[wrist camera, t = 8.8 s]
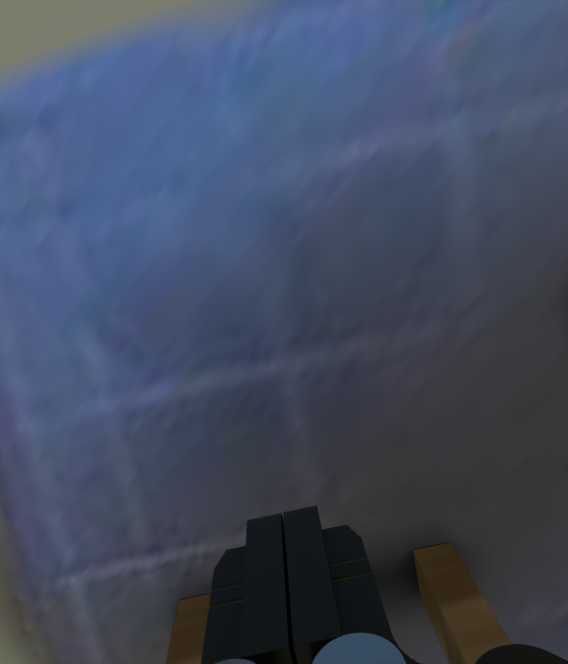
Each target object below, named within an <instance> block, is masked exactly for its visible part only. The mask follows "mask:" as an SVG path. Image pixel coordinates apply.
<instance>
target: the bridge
mask: <svg viewBox="0 0 568 664" xmlns="http://www.w3.org/2000/svg"><path fill="white" fill-rule="evenodd" d="M413 554H414V560H415V566H416V572H417V578H418V584H419V590H420V596H421V600H422V602H423V605H424V607H425V609H426V612H427V614H428V616H429V618H430V621H431V623H432V625H433V628H434V630H435V632H436V634H437V637H438V639H439V641H440V644H441V646H442V648H443V650H444V653H445V655H446V657H447V660H448V662H449V664H475V663H476V661H477V660H478V659H479V658H480V657H481V656H482V655H483V654H484V653H486V652H487V651H488V650H491V649H493V648H495V647H499V646H502V645H510V644H511V642H510V641H509V639H508V637H507V636H506V634H505V632H504V631H503V629H502V627H501V626H500V624H499V622H498V621H497V619H496V617H495V616H494V614H493V612H492V611H491V609H490V607H489V606H488V604H487V603H486V601H485V599H484V598H483V596H482V594H481V593H480V591H479V589H478V588H477V586H476V584H475V583H474V581H473V579H472V578H471V576H470V574H469V573H468V571H467V569H466V568H465V566H464V565H463V563H462V561H461V560H460V558H459V556H458V555H457V553H456V551H455V550H454V548H453V546H452V545H451V543H445V544H441V545H436V546H431V547H427V548H422V549H417V550H413ZM210 595H211V594H207V595H202V596H197V597H193V598H188V599H183V600H179V602H178V607H177V612H176V616H175V621H174V626H173V631H172V636H171V641H170V646H169V650H168V655H167V660H166V664H201V658H202V651H203V644H204V637H205V630H206V623H207V616H208V609H210V607H209V602H210Z"/></svg>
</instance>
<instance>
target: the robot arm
mask: <svg viewBox="0 0 568 664" xmlns="http://www.w3.org/2000/svg"><path fill="white" fill-rule="evenodd" d="M209 607H210V609H208V616H207V623H206V630H205V637H204V644H203V651H202V658H201V664H420V663H418V662H416V661H415V660H413V659H411V658H410V657H409V656H408V655H406V654H405V653H404V652H403V651H402V650H401V649H400V648H399V646H398V645H397V643H396V642H395V640H394V638H393V635H392V633H391V630H390V626H389V623H388V620H387V617H386V614H385V611H384V608H383V605H382V601H381V598H380V595H379V592H378V589H377V586H376V583H375V579H374V576H373V574H372V570H371V567H370V564H369V561H368V558H367V554H366V551H365V548H364V545H363V542H362V539H361V537H360V536H359V535H358V534H356V533H355V532H354V531H353V530H352V529H351V528H350V527H348V526H347V525H343V526H338V527H333V528H329V529H324V530H322V528H321V523H320V518H319V514H318V509H317V506H312V507H307V508H303V509H298V510H293V511H288V512H284V520H283V517H282V514H281V513H280V514H275V515H270V516H265V517H261V518H256V519H251V520H248V521H247V535H246V546H244V547H239V548H234V549H230V550H226V552H225V553H224V555H223V556H222V558H221V559H220V561H219V562H218V564H217V565H216V567H215V568H214V574H213V581H212V592H211V595H210V602H209ZM475 664H568V661H566V660H564V659H562V658H560V657H558V656H556V655H554V654H552V653H550V652H548V651H545V650H543V649H540V648H537V647H533V646H529V645H522V644H510V645H502V646H499V647H495V648H493V649H491V650H488V651H487V652H486V653H484V654H483V655H482V656H481V657H480V658H479V659H478V660H477V661H476V663H475Z"/></svg>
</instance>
